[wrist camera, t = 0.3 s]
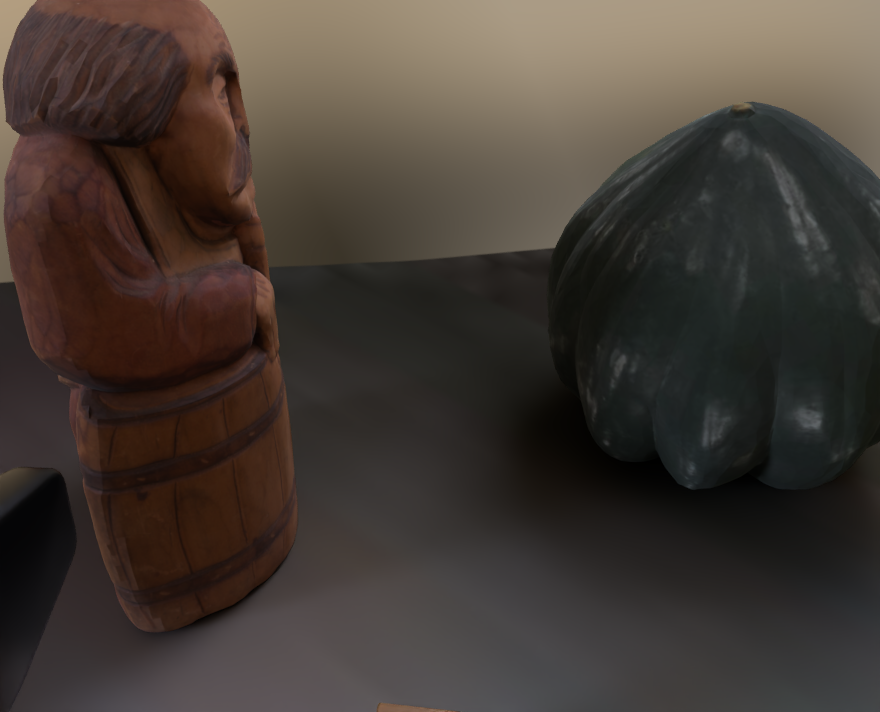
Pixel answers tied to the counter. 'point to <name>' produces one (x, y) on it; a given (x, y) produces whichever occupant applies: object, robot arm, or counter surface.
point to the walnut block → (405, 708)
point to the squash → (726, 303)
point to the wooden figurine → (152, 295)
